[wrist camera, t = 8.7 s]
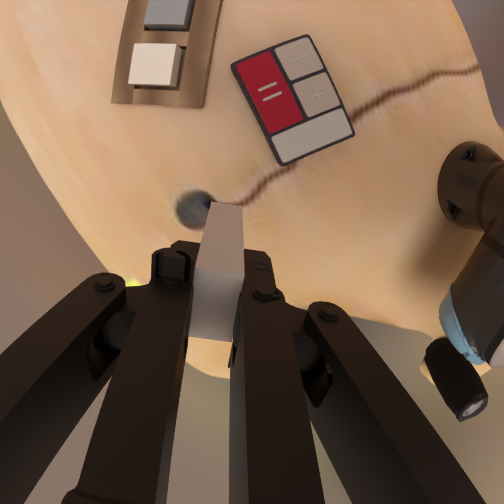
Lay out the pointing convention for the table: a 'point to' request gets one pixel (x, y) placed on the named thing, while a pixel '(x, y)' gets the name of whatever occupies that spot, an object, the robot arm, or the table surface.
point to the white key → (155, 64)
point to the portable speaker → (456, 379)
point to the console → (191, 63)
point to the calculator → (293, 99)
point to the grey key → (169, 15)
